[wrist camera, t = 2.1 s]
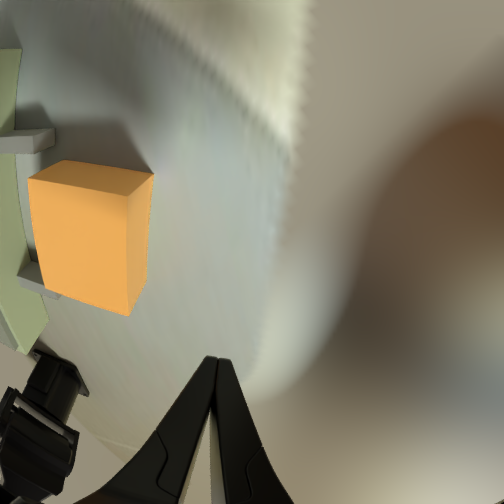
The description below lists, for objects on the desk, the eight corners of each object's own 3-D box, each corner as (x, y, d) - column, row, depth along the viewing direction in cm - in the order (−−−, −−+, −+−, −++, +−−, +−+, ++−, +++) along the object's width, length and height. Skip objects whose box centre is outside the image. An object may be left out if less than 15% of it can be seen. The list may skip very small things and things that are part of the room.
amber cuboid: (147, 278, 17) (128, 316, 14) (71, 257, 16) (45, 288, 13) (155, 172, 13) (127, 196, 10) (65, 158, 13) (27, 178, 10)
